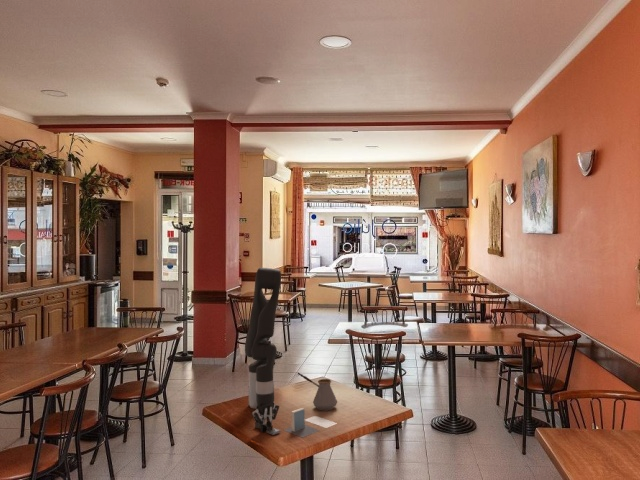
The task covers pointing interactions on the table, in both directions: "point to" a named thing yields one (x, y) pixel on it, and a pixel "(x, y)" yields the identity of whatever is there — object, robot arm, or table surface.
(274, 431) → the grey post on base
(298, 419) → the tile
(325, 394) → the coffee pot
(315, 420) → the rest pad
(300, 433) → the mat
